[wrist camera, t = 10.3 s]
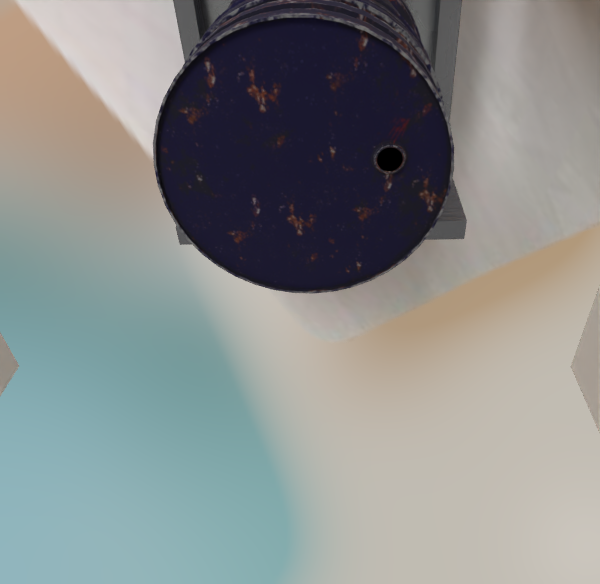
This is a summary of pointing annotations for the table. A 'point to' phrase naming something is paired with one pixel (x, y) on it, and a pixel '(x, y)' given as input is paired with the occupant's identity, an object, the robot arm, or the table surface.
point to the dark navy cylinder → (306, 142)
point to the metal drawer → (434, 36)
